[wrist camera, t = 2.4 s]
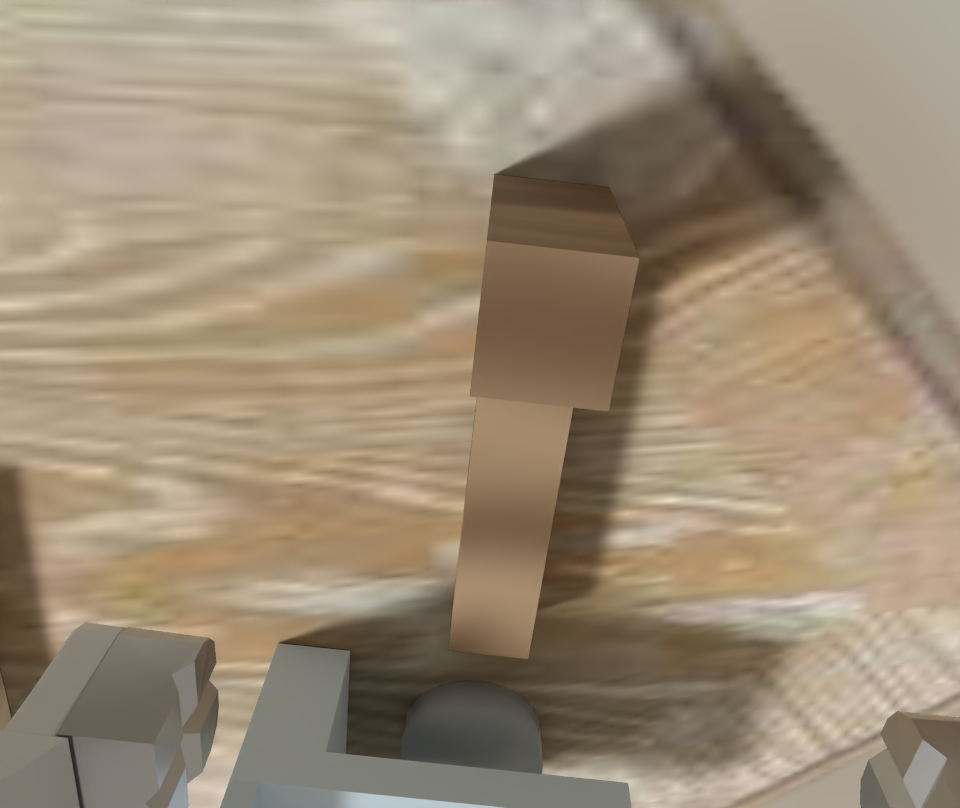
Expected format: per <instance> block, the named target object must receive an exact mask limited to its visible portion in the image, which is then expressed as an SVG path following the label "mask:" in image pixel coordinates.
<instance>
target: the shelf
mask: <svg viewBox="0 0 960 808" xmlns="http://www.w3.org/2000/svg"><path fill="white" fill-rule="evenodd" d="M349 670H350V651H347V650H337V649H328V648H318V647H309V646H299V645H290V644H280V643H278V645H277V648H276V651H275V653H274V656H273V659H272V662H271V665H270V668H269V671H268V673H267V676H266V679H265V682H264V685H263V688H262V690H261V693H260V696H259V699H258V702H257V705H256V707H255V710H254V713H253V716H252V719H251V722H250V724H249V727H248V730H247V733H246V736H245V739H244V742H243V744H242V747H241V750H240V753H239V756H238V759H237V761H236V764H235V767H234V770H233V773H232V776H231V778H230V781H229V784H228V787H227V790H226V793H225V795H224V798H223V801H222V804H221V807H220V808H631V801H630V794H629V787H628V783H622V782H613V781H603V780H593V779H583V778H574V777H564V776H554V775H545V774H535V773H525V772H515V771H506V770H496V769H486V768H477V767H467V766H457V765H447V764H438V763H428V762H418V761H409V760H399V759H389V758H379V757H370V756H360V755H350V754H346V741H347V717H348V693H349Z"/></svg>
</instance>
